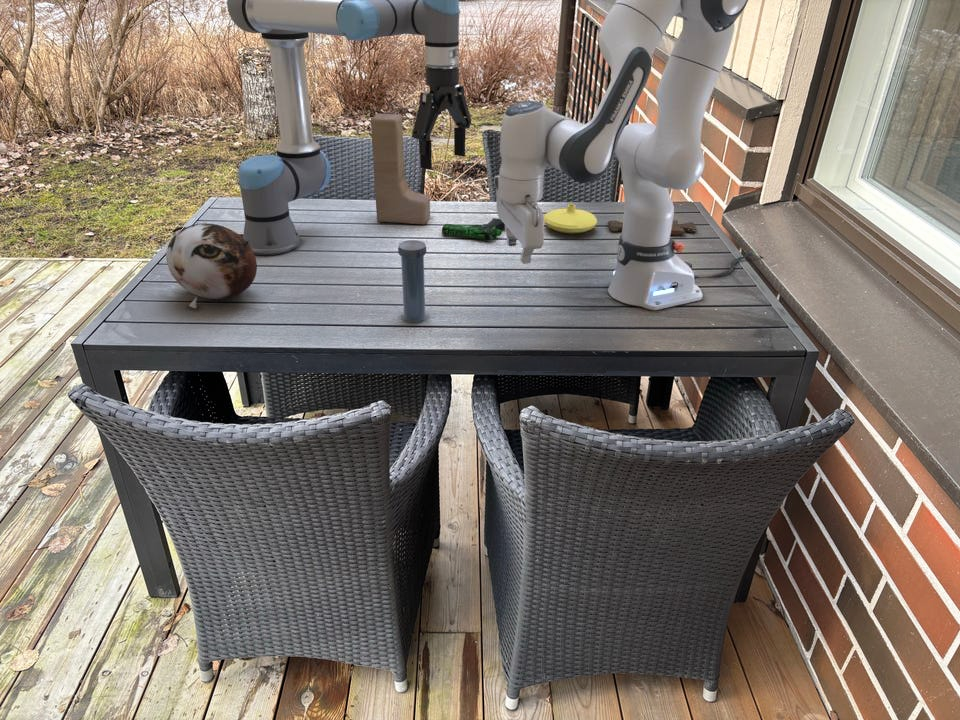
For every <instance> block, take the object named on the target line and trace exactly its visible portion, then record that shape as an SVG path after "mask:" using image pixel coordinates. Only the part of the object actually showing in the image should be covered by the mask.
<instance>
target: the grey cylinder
mask: <svg viewBox="0 0 960 720" xmlns="http://www.w3.org/2000/svg"><path fill="white" fill-rule="evenodd" d="M400 262H401V287H402V306H403V319H404V321H406V322H408V323H420V322H423V321H424V320H425V319H426V287H425V285H426V283H425V255H424V256H422V257H418V258H405V257H402V256H400Z"/></svg>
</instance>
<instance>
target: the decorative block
mask: <svg viewBox="0 0 960 720" xmlns="http://www.w3.org/2000/svg"><path fill="white" fill-rule="evenodd" d="M370 129H371V148H372V165H373V178H374V179H373V180H374V196H375V210H376V221H377V222H380V223H396V224H412V225H426V224H427V222H428V220H429V219H430V217H431V197H430V195H428V194H425V193H419V192H416V191H414V190H413V189H411V188H410V187H409V185H408V182H407V180H406V176H405V157H404V156H405V155H404V154H405V153H404V129H403V116H402V114H399V113H398V114H397V113H376V114H375V115H374V116H373V117H372V118H371V119H370Z"/></svg>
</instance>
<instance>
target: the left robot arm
mask: <svg viewBox="0 0 960 720" xmlns="http://www.w3.org/2000/svg"><path fill="white" fill-rule="evenodd" d="M226 7H227V12H228V15H229V17H230V19H231V21H232V22H233V23H234V25H236V26H237V28H239V29H240V30H242V31H244V32H246V33H250V34H260V35H261V40H262V41H264V42H265V43H266V44H267V46H268V48H269V57H270V63H271V72H272V81H273V88H274V96H275V103H276V111H277V119H278V128H279V135H280V142H279V143H278V145H277V146H276V148H275V149H276V150H275V151H276V154H262V155H254V156H253V157H250V158H247V159H245V160H244V161H242V162H241V163H240V164H239V166H238V168H237V174H238V185H239V190H240V194H241V195H240V196H241V201H242V208H243V212H244V213H243V215H244V219H245V220H244V226H243V228H244V229H243V233H242V234H239V235H240V236H241V237H243V238H244V239H245V240H246V241H249V242H248V244H249V245H250V247H251V248H252V250H253V252H254V254H255V256H256V255H257V256H275V255H281V254H282V255H283V254H285V253H289V252H291V251H293V250H296V249H297V248H298V247H299V246H300V244H301V241H300V235H299V233H298V231H297V229H296V225H295V224H294V223H293V220H292V218H291V216H290V207H289V203H291V202H293V201H296V200H299V199H302V198H305V197H309V196H312V195H315V194H317V193H318V192H321V191H322V190H324V189H325V188H326V187H328V185H329V183H330V180H331V175H332V168H331V163H330V160H329V158H327V155H326V153H325V152H324V151H323V150H321V146H320V144H319V143H318V142H316V141H315V140H314V134H313V133H314V132H313V123H312V115H311V114H312V113H311V104H310V94H309V93H310V92H309V84H308V75H307V65H306V55H305V44H306V43H307V41H308V40H309V39H310V36H309V34H310V33H311V34H319V35H320V34H321V35H328V36H329V35H330V36H339V37H345V38H346V39H347V40H350V41H359V42H360V41H361V42H362V41H363V42H364V41H368V40H373V39H378V38H385V37H392V36H400V35H418V36H424V64H425V65H426V67H425V72H424V73H425V84H426V85H427V86H428V87H429V92H420V94H419V104H418V109H417V112H416V117H415V121H414V125H413V130H412V132H411V138H412V139H415V140H417V141H418V153H419V159H420V160H419V163H420V165H419V168H420V169H425V170H432V169H433V163H432V162H433V161H432V160H433V157H432V139H430V136H431V135H432V133H433V129H434V128H435V127H434V126H435V125H436V122H437V120H438V117H439V115H441V114H442V112H444V111H446V110H447V112H448V113H449V115H450V117H451V119H452V120H453V123H454V124H455V126H456V127H453V130H454V131H453V155H454V156H456V157H463V158H464V157H466V136H467V135H466V133H467V132H466V130H467V129H470V127H471V124H472V117H471V114H470V110H469V107H468V102H467V99H466V96H465V87H464V85H462V84H460V68H459V67H458V65H459V64H460V41H459V40H460V39H459V38H460V34H459V33H460V31H459V30H460V13H461V10H460V3H459V0H226ZM183 227H184V228H186V227H187V226H178V227H176V228H174V229H173V230H172V231H171V233H172V234H173V233H175V234H176V233H177V232H179V231H180V230H181V229H182V228H183ZM184 228H183V229H184Z"/></svg>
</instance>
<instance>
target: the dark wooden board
mask: <svg viewBox="0 0 960 720" xmlns="http://www.w3.org/2000/svg"><path fill="white" fill-rule="evenodd" d="M607 224H608V229H609V231H610V232H613V233H615V232H616V233H617V232H622V228H623V221H622V222H621V221H619V220H615V219H614V220H608V221H607ZM682 228H683V229H682ZM688 229H689V230H688ZM693 230H696V231H697V228H696V224H695V223H694V222H691V221H690V222H683V223H682V222H681V223H679V221H678V220H674V219H673V222H672V229H671V235H685V233H686V232H687V233H696V231H693Z"/></svg>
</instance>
